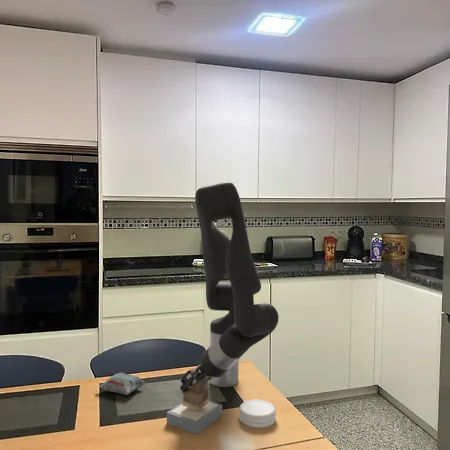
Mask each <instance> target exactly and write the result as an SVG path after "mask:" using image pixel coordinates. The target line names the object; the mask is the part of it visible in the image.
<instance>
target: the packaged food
mask: <svg viewBox="0 0 450 450" xmlns="http://www.w3.org/2000/svg"><path fill="white" fill-rule="evenodd" d="M145 384H146V382H145V381H144V380H143V379H141V377H139V376H137V375H133V374H127V373H125V372H118V373H115V374H114V375H112V376H111V377H109V378H108V379H106V381H105V382H103V383H102V384H100V385H98V388H100V389H104V390H105V391H107V392H111V393H116V394H120V395H125V396H127V395H130V394H131V393H133V392H134V391H136V390H139V388H141V387H142V386H144V385H145Z"/></svg>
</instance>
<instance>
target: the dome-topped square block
mask: <svg viewBox="0 0 450 450" xmlns="http://www.w3.org/2000/svg"><path fill="white" fill-rule="evenodd" d="M195 369H196V368H191V369H189V370H190V371H191V372H192V371H193V370H195ZM196 377H197V376H196ZM197 379H198V380H200V379H199V378H198V377H197ZM192 383H193V382H192ZM208 395H209V381H208V379H205V380H203V381H202V382H201V383H199V384H195V385H194V386H192V387H191V388H190V389H189V390H188V391H187V392H186V393H184V394H183V393H182V400H181V403H182V405H183V406H186V407H189V408H192V409H195V410H199V409H200V408H202V407H203V406H205V405H206V404H208V403H209V401H210V398H209V396H208Z"/></svg>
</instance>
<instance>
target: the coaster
mask: <svg viewBox="0 0 450 450" xmlns="http://www.w3.org/2000/svg"><path fill="white" fill-rule="evenodd" d="M276 412H277V411H276V406H275V405H273V404H272V403H271V402H269V401H267V400H262V399H250V400H249V399H248V400H245V401H244V402H242V403H241V404H240V405H239V414H238V415H239V416H238V417H239V418H238V419H239V420H240V422H241V423H242V424H243V425H245V426H247V427H250V428H255V429H263V428H267V427H270V426H272V425H273V424H275V422H276V419H277V418H276V414H277V413H276Z"/></svg>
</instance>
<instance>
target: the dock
mask: <svg viewBox="0 0 450 450" xmlns="http://www.w3.org/2000/svg"><path fill="white" fill-rule="evenodd" d="M222 416H223V404H220V403H217V402H214V401H211V400H209V403H208V404H206V405H205V406H203V407H202V408H200V409H199V410H195V409H192V408H189V407H186V406H183V405H182V402H181V403H180V404H178V405H176V406H175V407H173V408H172V409H170V410H168V411H166V424H168V425H170V426H173V427H176V428H179V429H181V430H184V431H186V432H188V433H191V434H194V435H199V433H201V432H202V431H203V430H204V429H206V428H208V427H209V426H210V425H211V424H213V423H214V422H216V421H217V420H218V419H219V418H220V417H222Z"/></svg>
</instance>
